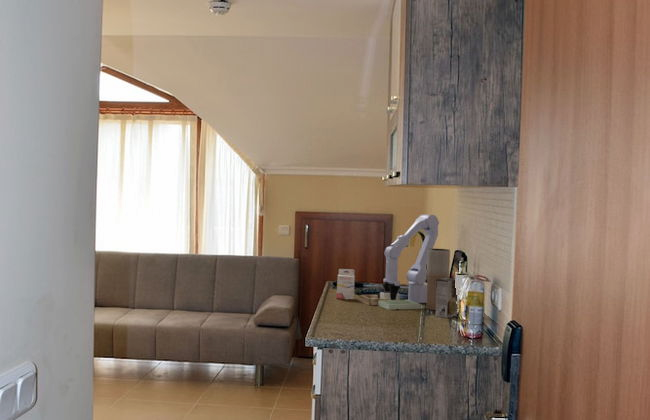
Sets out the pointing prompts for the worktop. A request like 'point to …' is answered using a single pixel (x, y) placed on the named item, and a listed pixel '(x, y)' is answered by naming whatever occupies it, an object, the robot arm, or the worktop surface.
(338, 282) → the ink cartridge box
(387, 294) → the block
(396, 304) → the tray
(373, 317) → the worktop surface
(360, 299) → the frame
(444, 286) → the coffee box
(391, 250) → the robot arm
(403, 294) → the worktop surface
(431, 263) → the tall taupe carton
